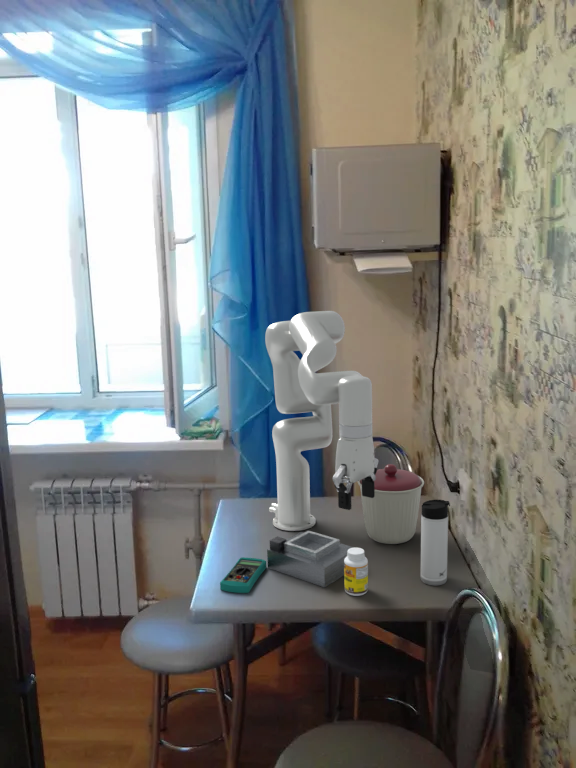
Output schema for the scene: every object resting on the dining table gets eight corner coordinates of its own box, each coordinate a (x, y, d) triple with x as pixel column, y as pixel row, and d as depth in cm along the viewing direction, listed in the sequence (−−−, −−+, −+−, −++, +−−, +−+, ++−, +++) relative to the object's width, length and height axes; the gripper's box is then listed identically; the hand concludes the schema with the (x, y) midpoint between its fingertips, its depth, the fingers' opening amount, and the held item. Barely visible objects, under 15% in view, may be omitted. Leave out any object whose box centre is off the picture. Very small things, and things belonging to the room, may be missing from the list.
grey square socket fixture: (267, 567, 181) (266, 540, 179) (301, 549, 191) (301, 523, 190) (324, 587, 169) (324, 558, 168) (357, 566, 180) (357, 539, 178)
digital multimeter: (218, 592, 169) (218, 581, 169) (240, 565, 183) (239, 555, 183) (247, 596, 167) (247, 584, 166) (267, 568, 181) (266, 558, 180)
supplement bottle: (340, 587, 169) (340, 547, 167) (362, 584, 171) (362, 544, 169) (349, 598, 164) (349, 557, 162) (371, 594, 165) (371, 553, 163)
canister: (351, 546, 192) (350, 471, 188) (365, 521, 209) (365, 453, 205) (418, 554, 186) (418, 477, 182) (427, 528, 203) (428, 457, 199)
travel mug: (448, 586, 168) (450, 506, 164) (420, 585, 169) (421, 505, 166) (447, 574, 174) (449, 497, 170) (420, 573, 175) (421, 496, 172)
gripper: (362, 421, 170) (363, 489, 173) (319, 436, 157) (321, 510, 160) (389, 425, 165) (390, 495, 168) (348, 441, 152) (349, 516, 155)
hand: (356, 502), depth 164 cm, fingers open, 9 cm apart
